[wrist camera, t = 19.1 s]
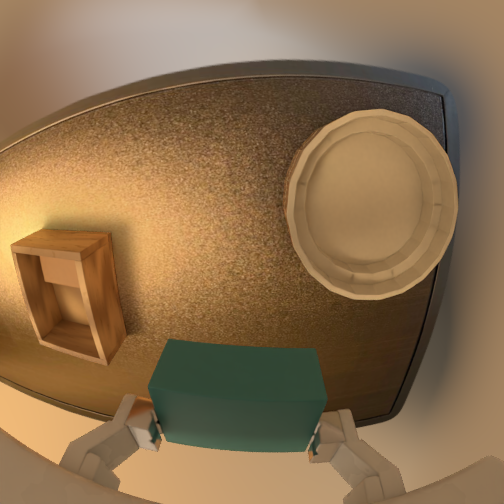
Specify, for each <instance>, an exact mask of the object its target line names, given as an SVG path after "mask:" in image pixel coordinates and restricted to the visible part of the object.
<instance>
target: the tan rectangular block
mask: <svg viewBox="0 0 504 504" xmlns="http://www.w3.org/2000/svg"><path fill="white" fill-rule="evenodd" d="M40 261H41V266H42V271H43V275H44V279H45V282H50V283H55V284H60V285H65V286H70V287H76V288H80V285H79V280H78V275H77V270H76V265H75V260H68V259H60V258H52V257H45V256H40Z"/></svg>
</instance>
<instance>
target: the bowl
mask: <svg viewBox="0 0 504 504" xmlns="http://www.w3.org/2000/svg"><path fill="white" fill-rule="evenodd" d="M282 205H283V206H282V207H283V211H284V215H285V220H286V224H287V229H288V233H289V236H290V239H291V242H292V245H293V247H294V249H295V251H296V253H297V254H298V256H299V258H300V259H301V261H302V263H303V264H304V266H305V268H306V269H307V271H308V272H309V274H310V275H312V276H313V277H314V278H315V279H316V280H318V281H319V282H320V283H321V284H322V285H324V286H325V287H326V288H327V289H328V290H330V291H332V292H335V293H338V294H340V295H343V296H346V297H349V298H351V299H355V300H381V299H384V298H387V297H391V296H394V295H397V294H401V293H403V292H405V291H406V290H408V289H410V288H411V287H413V286H414V285H416V284H417V283H419V282H420V281H422V280H423V279H424V278H425V277H426V276H427V275H428V274H429V273H430V272H431V270H432V269H433V268H434V267H435V266H436V265H437V264H438V262H439V261H440V260H441V258H442V257H443V255H444V253H445V251H446V249H447V247H448V245H449V242H450V240H451V238H452V235H453V232H454V228H455V223H456V218H457V213H458V193H457V181H456V178H455V175H454V172H453V169H452V166H451V163H450V160H449V157H448V155H447V154H446V152H445V151H444V149H443V148H442V146H441V145H440V144H439V142H438V141H437V139H436V138H435V137H434V135H433V134H432V133H431V132H430V131H428V130H427V129H426V128H424V127H423V126H422V125H420V124H419V123H418V122H416V121H415V120H413V119H412V118H411V117H409V116H406V115H402V114H399V113H396V112H392V111H389V110H385V109H373V110H363V111H354V112H351V113H349V114H346V115H344V116H341V117H339V118H337V119H335V120H333V121H331V122H329V123H327V124H325V125H324V126H322V127H320V128H318V129H316V130H315V131H314V132H313V133H312V134H311V135H310V136H309V137H308V138H307V139H306V140H305V141H304V143H303V144H302V145H301V146H300V147H299V148H298V149H297V151H296V152H295V154H294V157H293V159H292V161H291V164H290V166H289V168H288V171H287V173H286V175H285V180H284V192H283V203H282Z"/></svg>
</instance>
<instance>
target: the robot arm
mask: <svg viewBox="0 0 504 504" xmlns="http://www.w3.org/2000/svg"><path fill="white" fill-rule="evenodd" d="M161 433H163V431H162V428H161V425H160V423H159V420H158V417H157V414H156V411H155V408H154V405H153V402H152V399H149V398H145V397H141V396H137V395H133V394H129V393H127V394H126V395H125V396H124V398H123V400H122V402H121V404H120V406H119V408H118V410H117V412H116V414H115V416H114V419H113V421H107V422H106V423H104V424H102V425H101V426H99V427H97V428H96V429H94V430H92V431H90V432H89V433H87V434H85V435H83V436H81V437H80V438H78V439H76V440H74V441H72V442H70V444H69V446H68V447H67V449H66V452H65V454H64V455H63V457H62V460H61V461H60V464H59V465H58V464H56V463H54V462H52V461H50V460H49V459H47V458H45V457H43V456H42V455H40V454H38V453H37V452H35V451H33V450H32V449H30V448H29V447H27V446H26V445H24V444H22V443H21V442H20V441H18V440H17V439H15V438H14V437H12V436H11V435H10V434H8V433H7V432H6V431H4V430H3V429H1V428H0V504H160V503H156V502H152V501H149V500H145V499H142V498H138V497H135V496H132V495H129V494H125V493H123V492H120V491H118V487H119V484H120V480H119V478H118V477H117V476H116V475H115V474H114V473H113V472H112V470H113V469H115V468H116V467H117V466H118V465H120V464H121V463H122V462H123V461H125V460H126V459H127V458H128V457H130V456H131V455H132V454H133V453H135V452H136V451H137V450H138V449H139V447H140V448H143V449H148V450H152V451H157V452H158V450H159V447H160V444H161V441H162V439H161V436H160V434H161ZM309 444H310V448H309V450H308V454H309V462H310V463H322V462H330V464H331V465H332V466H333V467H334V469H335V470H336V471H337V472H338V473H339V474H340V475H341V476H342V477H343V479H344V480H345V481H346V482H347V483H348V484H349V485H350V486H351V487H352V488H353V490H352V491H351V492H350V493H348V494H347V495H346V496H345V497H344V498H343V502H344V504H504V461H502V460H500V459H498V458H496V457H493V456H486V457H484V458H482V459H480V460H479V461H477V462H475V463H473V464H472V465H470V466H468V467H466V468H464V469H462V470H460V471H458V472H456V473H454V474H452V475H450V476H448V477H445V478H443V479H441V480H439V481H436V482H434V483H432V484H429V485H427V486H424V487H422V488H419V489H416V490H413V491H411V492H408V493H406V491H405V488H404V484H403V481H402V477H401V474H400V471H399V469H398V468H397V467H396V466H395V465H393V464H392V463H391V462H389V461H388V460H387V459H386V458H384V457H383V456H381V454H379V453H378V452H377V451H376V450H374V449H373V448H372V447H371V446H369V445H368V444H367V443H366V442H365V441H363V440H359V438H358V435H357V431H356V428H355V424H354V421H353V417H352V414H351V411H350V410H349V409H345V410H331V411H323V412H322V415H321V417H320V420H319V422H318V424H317V426H316V429H315V431H314V433H313V435H312V437H311V439H310V442H309Z"/></svg>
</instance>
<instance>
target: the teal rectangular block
mask: <svg viewBox="0 0 504 504" xmlns="http://www.w3.org/2000/svg"><path fill="white" fill-rule="evenodd" d="M148 390H149V393H150V396H151V399H152V402H153V405H154V408H155V411H156V414H157V417H158V420H159V423H160V425H161V428H162V431H163V433H164V436H165V438H166V441H168V442H172V443H178V444H184V445H190V446H197V447H203V448H211V449H220V450H231V451H245V452H246V451H247V452H304V451H305V450H306V448H307V446H308V444H309V442H310V439H311V437H312V435H313V433H314V431H315V429H316V426H317V424H318V422H319V420H320V417H321V415H322V412H323V410H324V408H325V405H326V403H327V400H328V399H327V395H326V390H325V386H324V382H323V377H322V373H321V369H320V365H319V360H318V356H317V352H316V349H315V348H270V347H250V346H235V345H223V344H211V343H201V342H192V341H184V340H176V339H168V341H167V343H166V345H165V347H164V350H163V352H162V354H161V357H160V359H159V361H158V363H157V366H156V368H155V370H154V373H153V375H152V377H151V380H150V382H149V384H148Z"/></svg>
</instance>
